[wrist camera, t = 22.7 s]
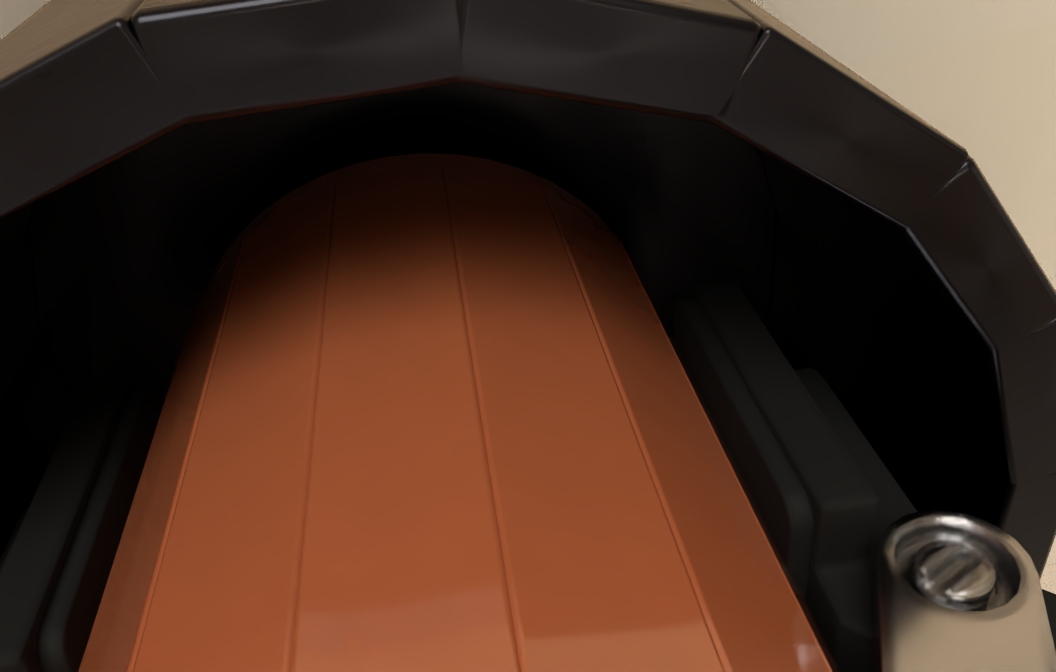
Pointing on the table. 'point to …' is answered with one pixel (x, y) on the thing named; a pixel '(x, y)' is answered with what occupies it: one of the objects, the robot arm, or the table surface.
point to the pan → (549, 152)
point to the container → (440, 454)
